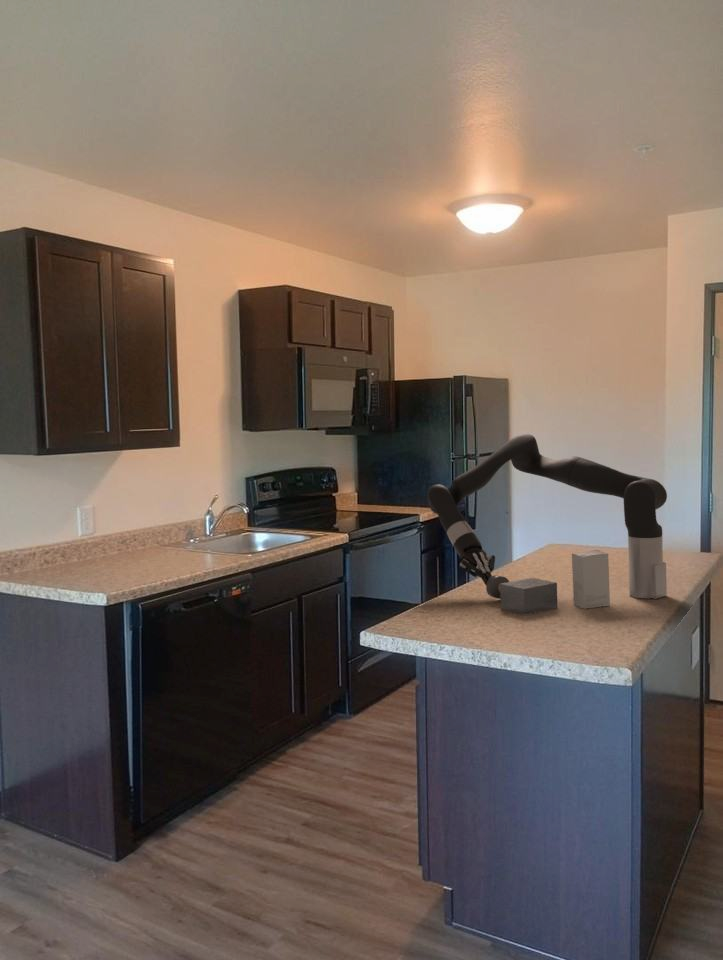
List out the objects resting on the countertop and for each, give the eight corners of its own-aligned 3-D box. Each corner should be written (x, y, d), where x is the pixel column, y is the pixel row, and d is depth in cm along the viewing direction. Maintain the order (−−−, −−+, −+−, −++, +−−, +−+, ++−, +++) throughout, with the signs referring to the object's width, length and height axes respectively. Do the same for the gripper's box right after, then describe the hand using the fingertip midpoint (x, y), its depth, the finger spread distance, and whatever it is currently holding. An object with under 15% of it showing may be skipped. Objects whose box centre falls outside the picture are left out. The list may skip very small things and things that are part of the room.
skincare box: (599, 602, 219) (597, 549, 218) (611, 606, 213) (609, 552, 212) (572, 605, 216) (570, 552, 215) (583, 609, 211) (582, 555, 210)
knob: (486, 598, 225) (485, 576, 225) (503, 595, 229) (502, 573, 228) (512, 605, 216) (511, 582, 216) (529, 601, 219) (528, 579, 219)
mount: (500, 608, 216) (500, 583, 215) (533, 602, 222) (532, 577, 222) (524, 614, 208) (523, 588, 207) (557, 608, 214) (556, 582, 213)
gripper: (475, 544, 243) (503, 589, 233) (441, 549, 237) (468, 596, 227) (486, 529, 238) (514, 574, 229) (451, 534, 232) (479, 580, 222)
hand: (491, 585), depth 228 cm, fingers closed
